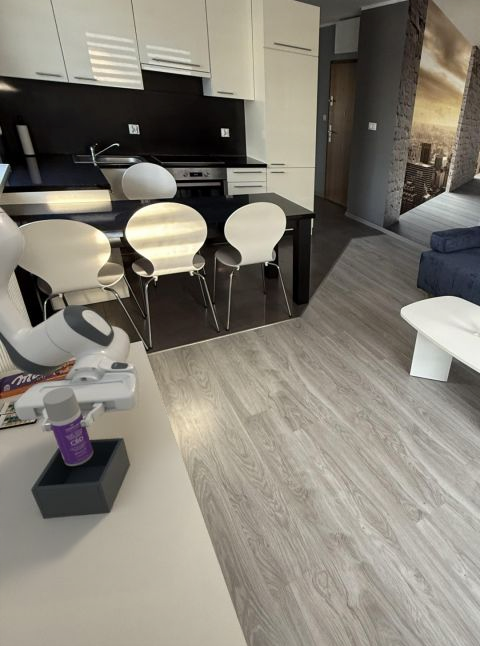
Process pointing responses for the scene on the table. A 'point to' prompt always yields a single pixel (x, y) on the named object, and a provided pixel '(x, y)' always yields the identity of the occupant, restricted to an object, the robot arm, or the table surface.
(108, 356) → the robot arm
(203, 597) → the table surface
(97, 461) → the bin
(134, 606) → the table surface
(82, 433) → the container
